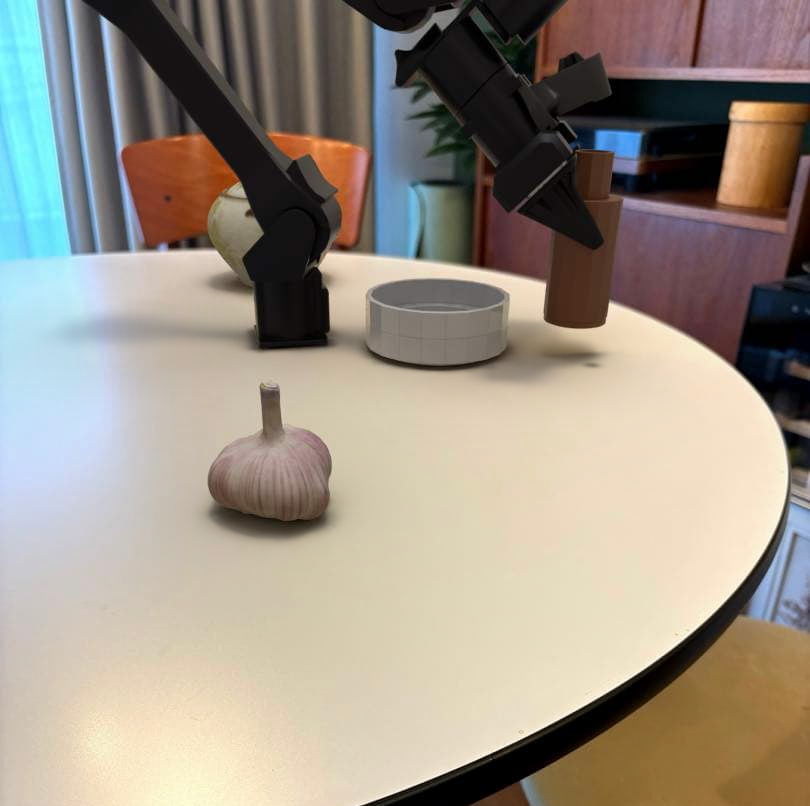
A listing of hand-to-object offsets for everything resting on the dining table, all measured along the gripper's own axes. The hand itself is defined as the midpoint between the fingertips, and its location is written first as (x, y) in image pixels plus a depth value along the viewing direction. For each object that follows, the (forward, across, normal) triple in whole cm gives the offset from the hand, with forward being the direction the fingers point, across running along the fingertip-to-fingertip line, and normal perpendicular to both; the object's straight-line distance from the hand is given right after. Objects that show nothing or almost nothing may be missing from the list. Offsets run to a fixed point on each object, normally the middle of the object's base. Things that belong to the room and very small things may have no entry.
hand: (600, 239), depth 71 cm
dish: (-2, -1, +17) cm, 17 cm away
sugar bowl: (-19, +21, +34) cm, 44 cm away
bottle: (+4, 0, +6) cm, 7 cm away
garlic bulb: (-5, -35, +20) cm, 41 cm away
